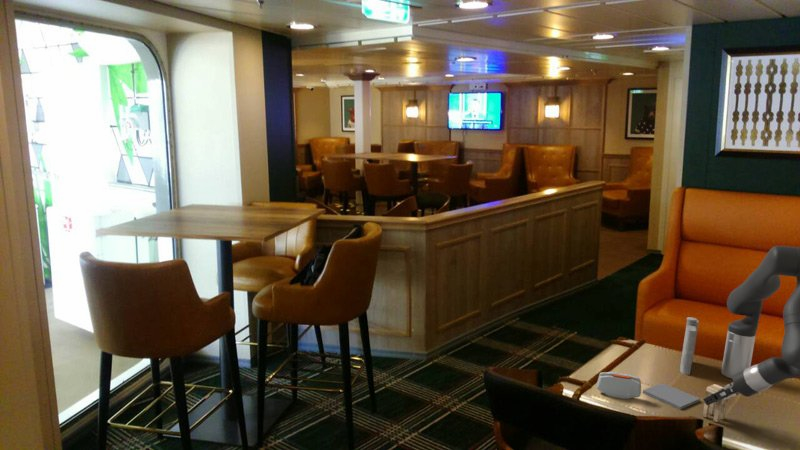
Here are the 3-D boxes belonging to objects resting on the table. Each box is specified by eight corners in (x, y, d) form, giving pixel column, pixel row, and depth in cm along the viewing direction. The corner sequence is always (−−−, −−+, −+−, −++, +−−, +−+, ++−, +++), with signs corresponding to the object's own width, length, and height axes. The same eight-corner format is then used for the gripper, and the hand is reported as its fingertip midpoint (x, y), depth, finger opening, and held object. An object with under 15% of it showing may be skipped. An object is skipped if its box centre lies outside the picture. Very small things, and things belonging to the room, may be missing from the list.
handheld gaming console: (639, 398, 214) (642, 376, 213) (640, 401, 211) (643, 379, 210) (595, 390, 218) (598, 369, 216) (596, 394, 215) (598, 372, 214)
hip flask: (689, 375, 235) (697, 325, 231) (677, 373, 237) (685, 323, 233) (692, 361, 249) (699, 314, 245) (681, 359, 251) (688, 311, 247)
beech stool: (710, 412, 206) (714, 383, 204) (724, 418, 202) (729, 389, 200) (702, 415, 203) (706, 387, 201) (716, 422, 199) (721, 393, 197)
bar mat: (662, 385, 225) (662, 382, 225) (699, 401, 214) (699, 398, 214) (642, 392, 218) (643, 390, 218) (680, 409, 207) (680, 406, 207)
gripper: (757, 363, 197) (714, 384, 209) (734, 373, 188) (691, 394, 200) (772, 386, 193) (727, 405, 205) (750, 396, 185) (704, 416, 197)
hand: (710, 400), depth 203 cm, fingers closed on beech stool, 4 cm apart
